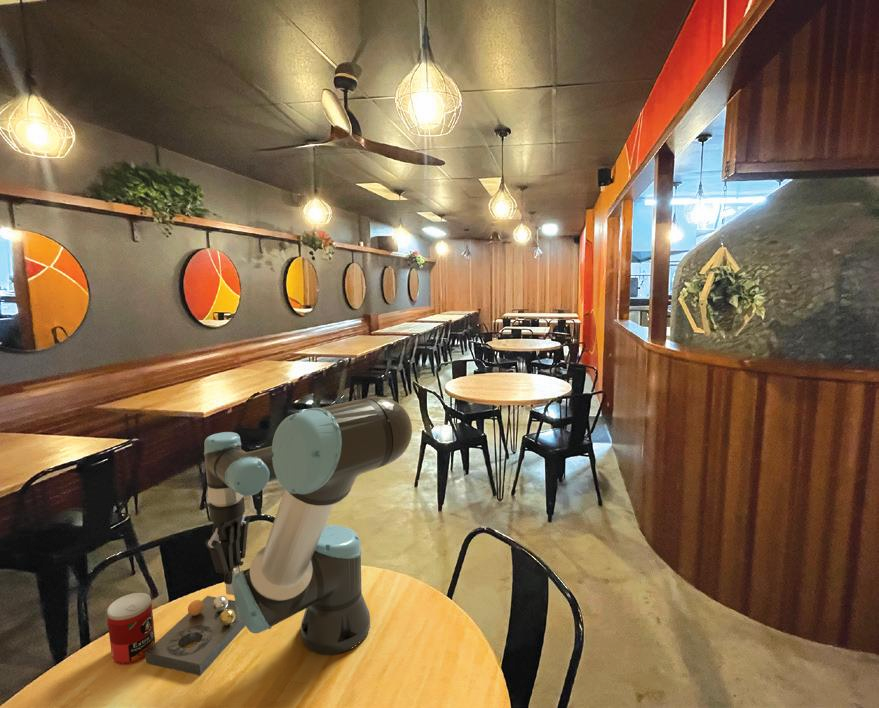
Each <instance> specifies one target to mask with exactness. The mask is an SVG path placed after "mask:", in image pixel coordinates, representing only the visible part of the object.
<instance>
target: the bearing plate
mask: <svg viewBox="0 0 879 708" xmlns="http://www.w3.org/2000/svg"><path fill="white" fill-rule="evenodd" d="M217 597H218V596H217ZM217 597H216V596H210V595H206V597H204V598H203V599H202V600H201V601H202V602H203V604H204V608H203V610H202V612H201V613H200V614H198V615H196V616H192V615H190V614H189V613H187V614H185V616H183V617H182V618H181V619H180V620H179V621H178V622H176V624H174V625H173V626H172V627H171V628H170V629H169V630H167V632H166V633H165V634H164V635H162V636H161V637H160V638H158V640H156V641H155V644H154V645H153V646H151V647H150V648H149V649H148V650H147V651H146V652H145V658H144V659H145V664H147V665H152V666H156V667H160V668H165V669H170V670H173V671H178V672H181V673H182V672H183V673H188V674H191V675H196V676H202V675H203V674H204V672H206V670H207V669H208V668H209V667H210V666H211V665H212V664H213V663H214V661H215V660H216V659H217V658H218V657H219V655H221V654H222V653H223V651H225V649H227V647H228V646H229V645H230V643H232V641H233V640H234V639H235V638H236V637H237V636H238V634H239V633H240V632H241V631H242V630H243V629H244V628H245V627H246V626H245V624H244V622H243V620H242V618H241V615H240V613H239V610H238V607H237V605H236V601H235V599H234V600H232V599H228V605H227V607H226V608H225V609H224V610H226V609H231V610H233V611H234V612H235V619H234V621H233V622H232V623H231V624H230V625H227V626H224V625H222V624H221V623H220V621H219V618H220V615H221V613H222V612H223V611H224V610H223V611H220V612H218V611H215V610H214V608H213V602H214V600H215V599H216V598H217ZM196 643H197V644H196ZM190 644H194V645H193V646H191V647H187V646H188V645H190ZM184 647H185V648H184Z"/></svg>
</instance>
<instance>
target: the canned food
mask: <svg viewBox="0 0 879 708" xmlns="http://www.w3.org/2000/svg"><path fill="white" fill-rule="evenodd" d="M106 619H107V628H108V634H109V635H108V636H109V643H110V650H111V651H110V652H111V658H112V660H113V662H114V663H115V664H117V665H122V666H126V665H127V666H128V665H131V664H135V663H138V662H140V661H142V660H143V659H146V658H145V652H146V651H147V650H148V649H149V648H150V647H151V646H153V645H154V644H155V643H156V636H155V623H154V614H153V605H152V598H151V595H149V593H148V594H147V593H145V592H132V593H129V594H126V595H124V596H121V597H119V598H117V599H116V600H114V601H113V602H112V603H111V604H110V605H109V606H108V607H107V610H106Z"/></svg>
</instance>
